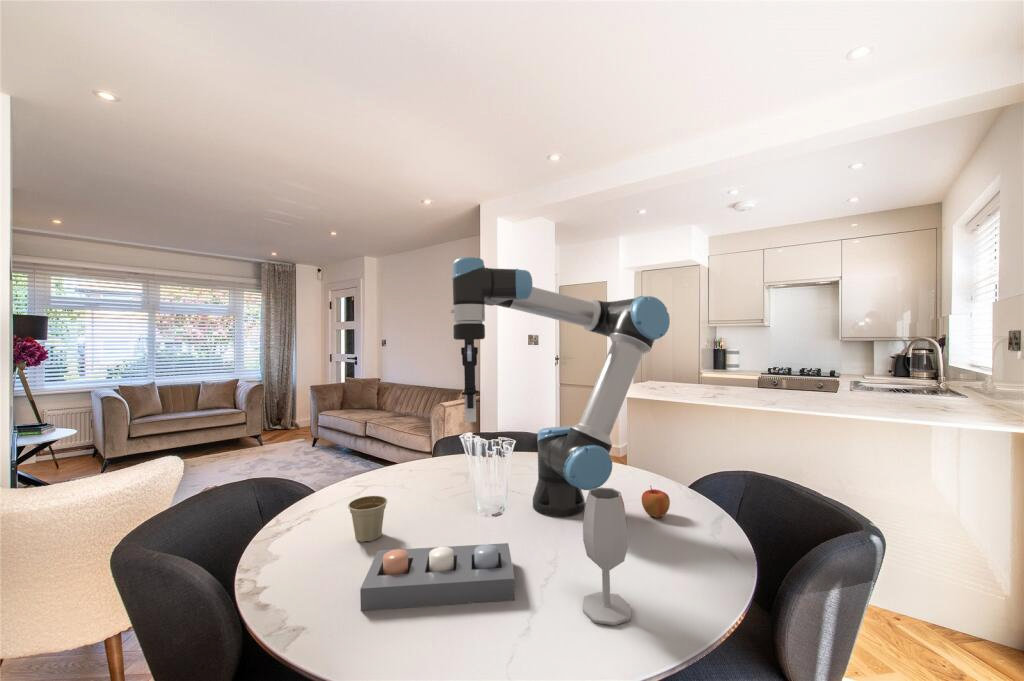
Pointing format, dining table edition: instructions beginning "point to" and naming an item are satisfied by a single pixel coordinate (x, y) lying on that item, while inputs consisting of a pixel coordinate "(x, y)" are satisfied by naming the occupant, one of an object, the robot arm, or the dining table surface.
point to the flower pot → (367, 517)
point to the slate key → (486, 557)
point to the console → (438, 581)
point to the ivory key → (441, 559)
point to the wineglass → (605, 552)
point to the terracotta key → (395, 562)
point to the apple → (655, 502)
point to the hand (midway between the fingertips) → (470, 421)
